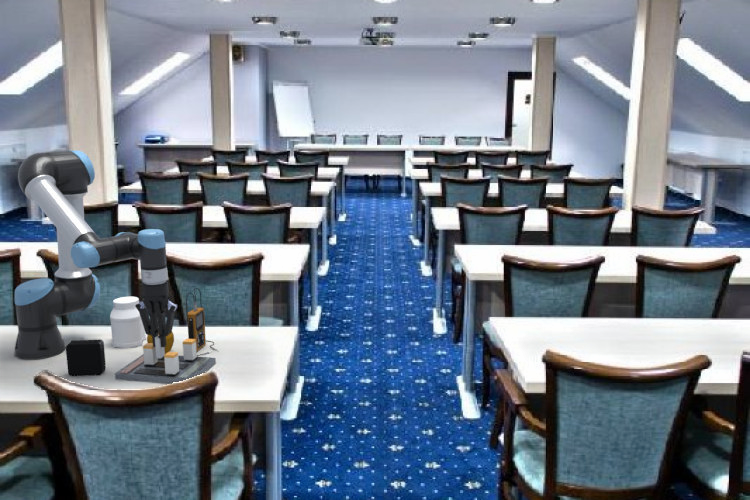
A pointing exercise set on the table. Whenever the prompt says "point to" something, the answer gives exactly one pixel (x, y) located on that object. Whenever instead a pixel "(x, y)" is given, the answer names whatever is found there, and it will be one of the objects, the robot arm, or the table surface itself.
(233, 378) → the table surface
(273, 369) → the table surface
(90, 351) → the electronic device
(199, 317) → the multimeter
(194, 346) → the breaker far
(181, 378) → the panel
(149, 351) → the block
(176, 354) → the breaker near
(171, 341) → the apple
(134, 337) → the jar
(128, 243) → the robot arm
